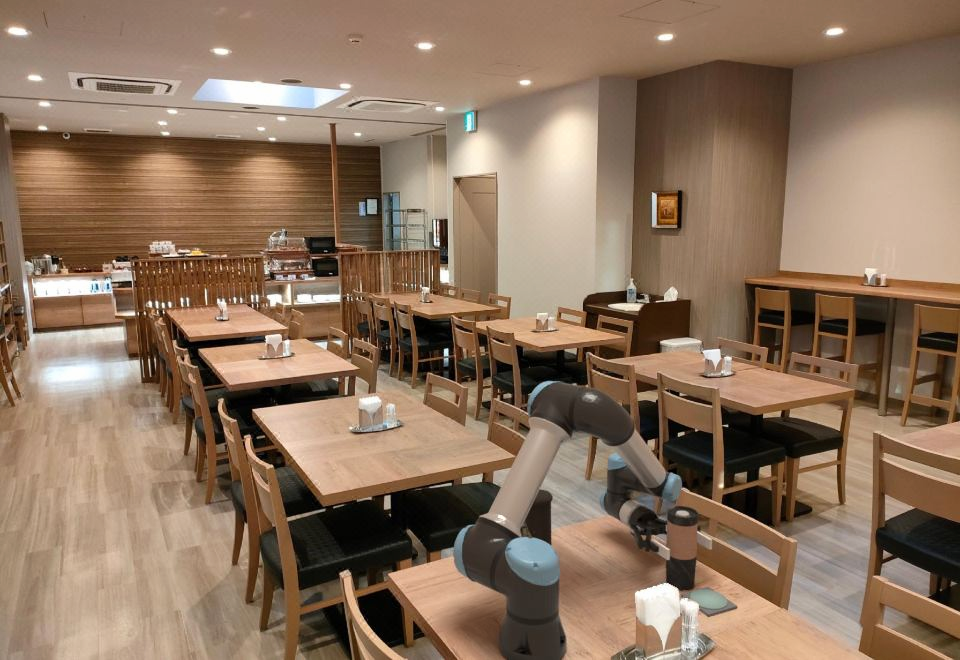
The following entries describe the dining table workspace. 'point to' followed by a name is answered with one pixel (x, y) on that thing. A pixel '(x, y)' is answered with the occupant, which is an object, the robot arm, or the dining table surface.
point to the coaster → (710, 601)
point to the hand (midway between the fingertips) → (690, 549)
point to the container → (539, 518)
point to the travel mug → (682, 547)
